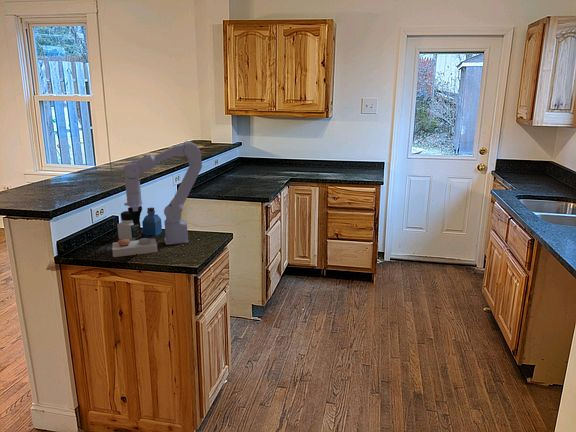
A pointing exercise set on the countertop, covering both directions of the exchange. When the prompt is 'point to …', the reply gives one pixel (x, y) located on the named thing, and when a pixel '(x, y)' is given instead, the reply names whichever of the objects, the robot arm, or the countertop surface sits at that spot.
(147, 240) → the grey button
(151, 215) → the perfume bottle
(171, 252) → the countertop surface
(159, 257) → the countertop surface
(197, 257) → the countertop surface
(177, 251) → the countertop surface
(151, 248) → the panel
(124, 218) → the medicine bottle
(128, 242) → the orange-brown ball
